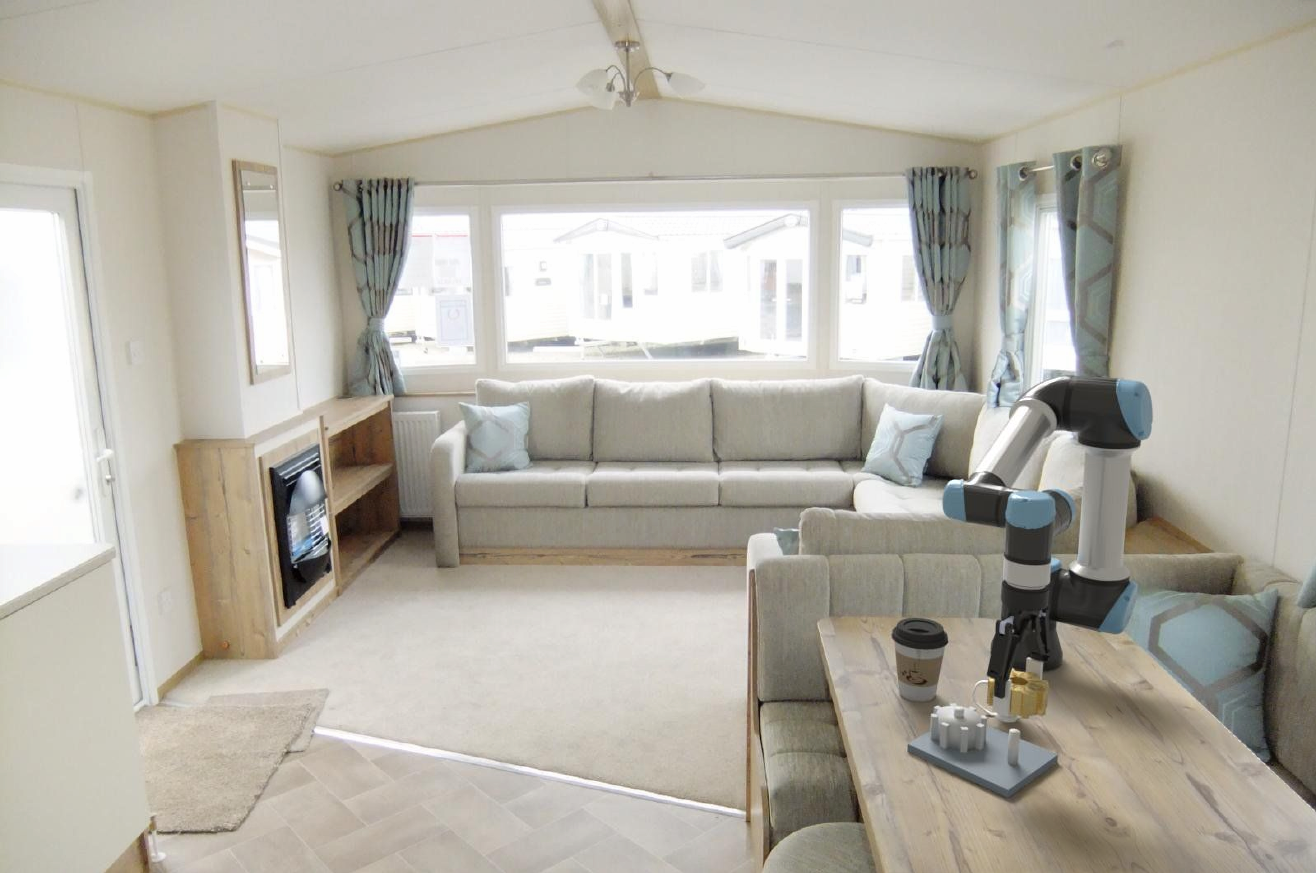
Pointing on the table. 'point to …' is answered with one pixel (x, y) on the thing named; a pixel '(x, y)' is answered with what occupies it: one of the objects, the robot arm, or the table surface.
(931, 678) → the coffee cup
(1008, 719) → the cup
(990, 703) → the brass gear
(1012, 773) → the gear board
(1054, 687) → the table surface
